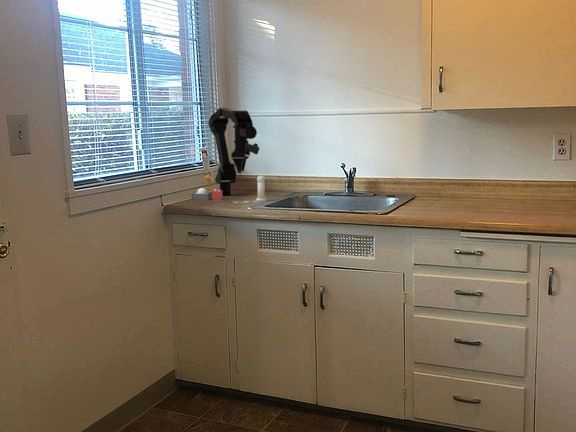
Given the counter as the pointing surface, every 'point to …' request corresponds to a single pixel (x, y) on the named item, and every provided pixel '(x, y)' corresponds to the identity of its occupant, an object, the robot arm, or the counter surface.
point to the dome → (201, 191)
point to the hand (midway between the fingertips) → (241, 172)
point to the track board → (246, 201)
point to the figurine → (208, 181)
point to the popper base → (208, 196)
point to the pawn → (261, 189)
